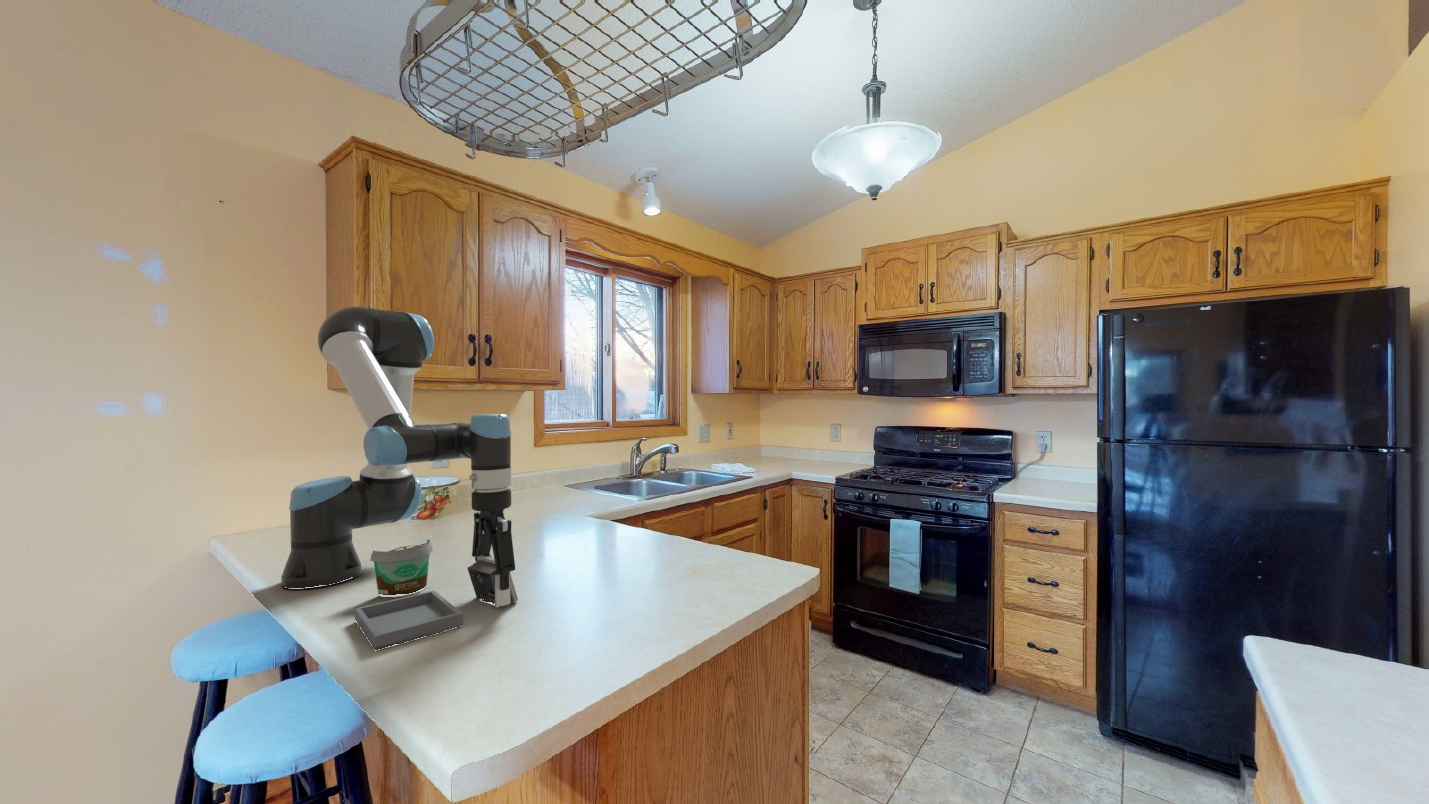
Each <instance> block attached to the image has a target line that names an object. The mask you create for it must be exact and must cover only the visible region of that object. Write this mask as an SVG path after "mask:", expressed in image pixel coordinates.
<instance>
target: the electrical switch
mask: <svg viewBox="0 0 1429 804" xmlns="http://www.w3.org/2000/svg"><path fill="white" fill-rule="evenodd" d="M467 571H468V574H469V578H470V581H471V584H472V587H473V590H474V593H475V596H476V600H477V599H482V601H485V602H492V603H493V604H494V603H495V575H494V574H493V573H494V572H495V571H497V570H496V564H495V559H494V557H492V558H491V557H487V556H483V555H481V556H478V557H477V562H476V561H475V562H474V563H473V564H471V565H469V566H468V567H467ZM483 599H484V600H483ZM518 600H519V598H518V595H517V591H516V588H515V585H514V580H513V578H512V574H511V573H510V603H511V602H512V604H515V603H516V602H517V601H518ZM502 607H503V606H500V608H502Z"/></svg>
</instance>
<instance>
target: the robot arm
mask: <svg viewBox="0 0 1429 804" xmlns="http://www.w3.org/2000/svg"><path fill="white" fill-rule="evenodd" d="M317 334H318V335H317V345H318V348H319V351H320V353H321V355H322V357H323V359H324V360H325V361H326V362H327V363H328V364H330V365H331V366H334V367H335V369H336V371H337V374H338V375H339V377H340V378H341V381H342V383H343V385H344V386H345V388H346V390H347V391H348V394H349V396H350V398H351V399H352V401H353V403H354V405H355V406H356V408H357V410H358V412H359V414H360V416H361V417H362V419H363V422H364V423H365V426H366V427H367V431H366V432H365V434H364V436H363V446H362V447H363V450H364V456H365V458H366V460H367V465H365V466H364V467H362V469H360V471H359V479H358V480H355V481H353V479H352V478H351V476H349V475H348V476H347V475H343V476H333V477H325V478H319V479H315V480H311V481H307V482H304V483H303V482H302V483H301V484H299V485H297V486H295V487H294V488H293V489H292V490H291V492H290V501H289V506H288V508H289V510H290V514H289V515H290V525H289V526H290V552H289V556H288V557H287V561H286V563H285V565H284V568H283V571H282V574H281V577H280V578H281V585H282V586H283V587H287V588H305V587H314V586H319V585H329V584H333V583H337V582H340V581H343V580H346V579H349V578H351V577H355V576H357V575H359V574H360V572H361V573H362V562H361V559H360V558H359V555H358V552H357V550H356V548H355V546H354V543H353V530H355V529H361V528H366V527H371V526H372V527H373V526H378V525H383V524H393V523H397V522H399V521H404V520H406V519H409V518H411V517H412V516H413V515H414V514H415V513H416V512H417V511H418V509H419V506H420V504H421V501H422V494H423V493H422V488H421V485H422V484H421V481H420V479H419V477H417V476H416V475H414V470H413V469H412V467H410V466H408V465H409V464H416V463H424V462H438V461H448V460H449V461H450V460H459V459H467V460H469V459H470V469H471V472H470V473H471V474H470V475H469V476H468V479H469V480H471V489H473V491H472V492H471V509H472V510H473V511H475V512H474V513H473V520H474V525H473V537H472V548H471V549H472V550H471V557H473V558H474V561H475V563H476V562H477V557H478V556H481V555H483V556H487V557H491V558H494V559H495V564H496V570H497V571H495V572H494V573H493V574H494V575H495V599H494V600H495V606H494V608H499V607H500V606H502V607H504V606H508V605H510V604H511V602H510V574H511V572H513V571H515V570H516V564H515V563H516V561H515V551H514V545H513V544H514V543H513V536H512V519H506V518H505V514H504V513H505V512H504V510H505V509H508V508H510V507H511V506H512V490H511V489H510V487H511V486H512V466H511V461H512V460H511V459H512V457H511V456H512V455H511V454H512V452H511V451H512V449H511V445H512V442H511V439H512V438H511V436H512V431H511V424H510V422H511V421H510V417H509V416H508V415H507V414H505V413H490V414H489V413H488V414H487V413H486V414H485V413H483V414H480V413H479V414H473V415H472V416H471V417H470V422H469V423H465V422H450V423H439V424H438V423H437V424H415V422H414V420H413V419H412V410H413V409H412V408H413V407H412V406H413V396H414V395H413V394H414V382H415V375H416V374H417V372H419V371H420V370H421V369H422V367H423V362H424V361H427V360H429V359H430V358H431V357H432V354H433V352H434V348H435V337H434V333H433V330H432V327H431V325H430V324H429V321H427V319H426V318H424V316H423V315H419V314H415V313H410V312H407V311H396V310H388V309H380V308H379V309H378V308H370V307H364V306H347V307H343V308H341V309H338V310H336V311H334V312H333V313H331V314H330V315H328V316H327V318H325V320H324V321H323V322H322V324H321V326H320V327H319V330H318V333H317ZM491 548H492V553H493V556H492V555H491V554H490V553H491ZM360 575H361V574H360ZM360 575H359V576H360ZM357 577H358V576H357ZM281 585H280V586H281ZM282 586H281V587H282ZM283 587H282V588H283ZM500 608H501V607H500Z"/></svg>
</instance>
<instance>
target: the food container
mask: <svg viewBox="0 0 1429 804" xmlns="http://www.w3.org/2000/svg"><path fill="white" fill-rule="evenodd" d="M433 551H434V549H433V543H432V542H431V539H429V538H427V540H426V543H425V542H424V543H422V544H418V545H417V544H416V545H407V546H401V547H397V548H394V549H391V550H388V551H381V550H380V551H378V550H372V553H371V555H370V557H369V558H370V559H369V561H371V562H373V565H374V572H375V580H376V588H377V589H376V590H377V595H378V594H383V595H396V594H409V593H413V592H416V591H418V590H420V589H422V588H424V587H425V586H426V585H427V584H428V574H429V565H430V564H429V563H430V562H429V561H430V554H431V553H432V552H433Z"/></svg>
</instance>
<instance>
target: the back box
mask: <svg viewBox="0 0 1429 804" xmlns="http://www.w3.org/2000/svg"><path fill="white" fill-rule="evenodd" d="M354 611H355V612H354V615H355V617H354V621H355V620H356V621H357V623H358V625H359V627H361V629H362V631H363V632H364V634H365V636H366V637H367V638H368V640H369V641H370V643H371V644H372V646H373V648H374V649H375V650H378V649H382V648H385V647H388V646H392V645H394V644H401V643H404V642H407V641H411V640H414V639H417V638H421V637H424V636H429V637H431V636H430V635H432V636H434V635H433V634H436V633H439V634H441V633H440V632H443V631H445V630H449V629H452V628H455V627H460V626H462V627H463V612H462V611H460V610H459V609H458V608H457V607H455V605H453V604H452V603H450V601H448V600H447V599H445V597H444V596H442V595H440V594H439V593H438V592H437V591H436V590H434V589H433V590H429V591H424V592H419V593H416V594H412V595H409V596H404V597H398V598H393V599H390V600H386V601H382V602H377V603H372V604H369V605H365V606H360V607H357V608H354ZM358 625H357V626H358ZM359 627H358V628H359ZM460 628H461V627H460ZM362 631H361V632H362ZM443 633H444V632H443ZM364 634H363V635H364ZM436 635H437V634H436ZM365 636H364V637H365ZM366 637H365V638H366ZM368 640H367V641H368ZM411 642H412V641H411ZM370 643H369V644H370ZM404 644H405V643H404ZM401 645H402V644H401ZM372 646H371V647H372ZM373 648H372V649H373ZM374 649H373V650H374Z"/></svg>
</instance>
